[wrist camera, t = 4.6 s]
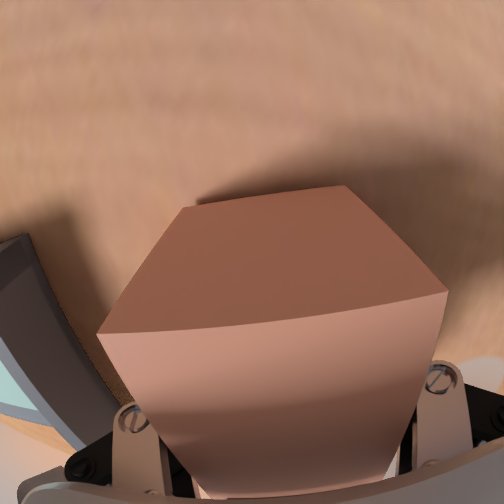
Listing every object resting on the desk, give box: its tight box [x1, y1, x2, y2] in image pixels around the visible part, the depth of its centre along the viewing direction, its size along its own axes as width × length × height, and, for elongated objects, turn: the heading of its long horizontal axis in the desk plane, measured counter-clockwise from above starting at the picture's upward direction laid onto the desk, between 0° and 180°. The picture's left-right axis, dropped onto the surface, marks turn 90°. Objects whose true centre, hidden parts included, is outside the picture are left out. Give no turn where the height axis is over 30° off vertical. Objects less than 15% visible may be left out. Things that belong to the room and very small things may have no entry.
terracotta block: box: [96, 185, 449, 500], centre depth 8 cm, size 5×9×6 cm, turn 9°
